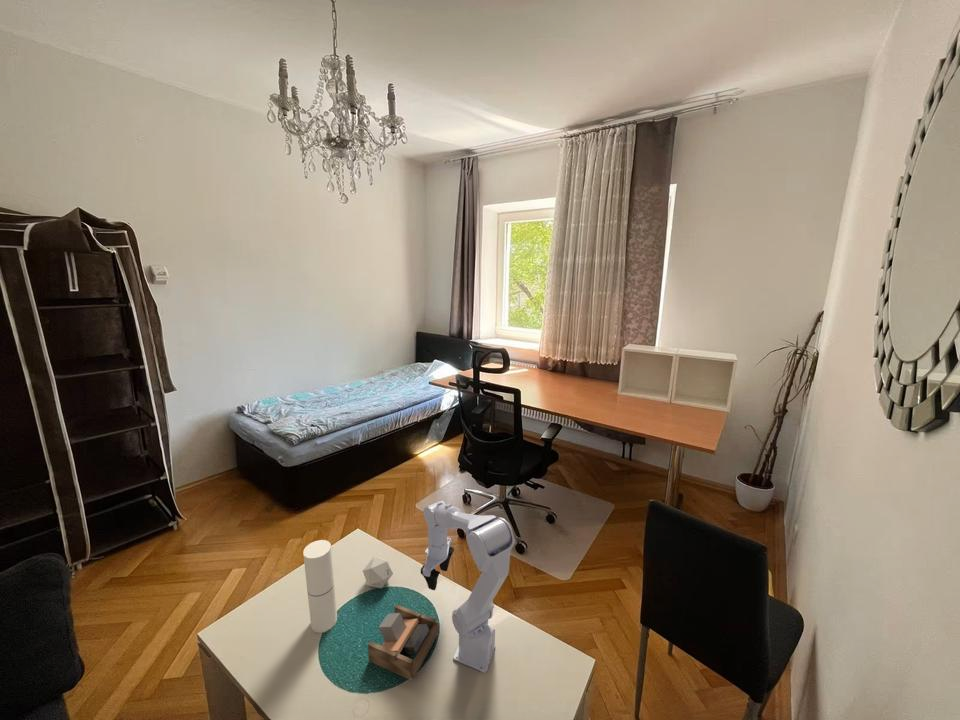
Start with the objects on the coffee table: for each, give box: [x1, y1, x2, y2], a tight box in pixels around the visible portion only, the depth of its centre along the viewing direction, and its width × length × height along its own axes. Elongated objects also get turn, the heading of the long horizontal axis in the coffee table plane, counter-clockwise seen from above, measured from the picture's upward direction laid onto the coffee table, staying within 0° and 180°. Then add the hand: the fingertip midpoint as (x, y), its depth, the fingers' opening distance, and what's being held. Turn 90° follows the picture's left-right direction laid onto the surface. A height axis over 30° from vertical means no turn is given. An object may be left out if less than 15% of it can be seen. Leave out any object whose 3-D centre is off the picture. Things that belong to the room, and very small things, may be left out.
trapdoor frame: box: [367, 604, 440, 681], centre depth 102 cm, size 14×13×6 cm
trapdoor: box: [381, 619, 429, 655], centre depth 102 cm, size 11×10×2 cm
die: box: [362, 556, 394, 589], centre depth 124 cm, size 8×9×10 cm
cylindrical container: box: [302, 539, 338, 634], centre depth 107 cm, size 7×7×25 cm
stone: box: [378, 612, 406, 642], centre depth 103 cm, size 4×4×4 cm
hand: (438, 579), depth 113 cm, fingers open, 7 cm apart
